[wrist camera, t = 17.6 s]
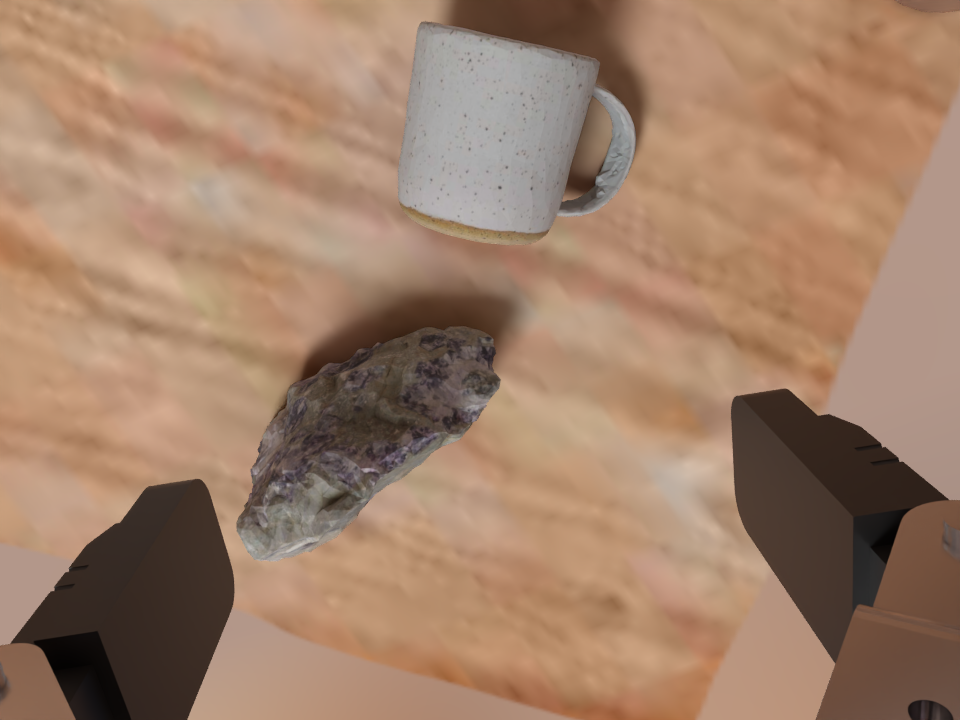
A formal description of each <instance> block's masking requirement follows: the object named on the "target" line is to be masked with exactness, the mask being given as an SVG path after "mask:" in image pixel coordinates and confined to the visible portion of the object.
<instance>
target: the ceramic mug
mask: <svg viewBox="0 0 960 720" xmlns="http://www.w3.org/2000/svg"><path fill="white" fill-rule="evenodd" d="M599 66H600V62H599V61H598V60H597V59H596V58H592V57H589V56H585V55H580V54H576V53H573V52H567V51H563V50H560V49H555V48H550V47H547V46H543V45H537V44H533V43H528V42H523V41H520V40H513V39H510V38H505V37H500V36H495V35H490V34H486V33H482V32H478V31H474V30H470V29H466V28H461V27H457V26H449V25H442V24H439V23H433V22H426V21H425V22H421V23H420V25H419V27H418V31H417V38H416V46H415V54H414V62H413V70H412V77H411V83H410V90H409V97H408V104H407V114H406V122H405V129H404V136H403V142H402V148H401V155H400V161H399V168H398V198H399V203H400V205H401V207H402V210H403V211H404V212H405V213H406V214H407V216H408V217H409V218H410V219H411V220H413V221H415V222H416V223H418V224H419V225H422V226H424V227H426V228H429V229H432V230H434V231H437V232H440V233H443V234H447V235H450V236H454V237H458V238H463V239H467V240H471V241H476V242H483V243H491V244H501V245H527V244H531V243H534V242H536V241H538V240H540V239H541V238H542V237H544V236H545V235H546V234H547V233H548V231H549V229H550V228H551V226H552V224H553V222H554V220H555V217H556V215H557V216H564V217H572V216H582V215H585V214H588V213H592V212H594V211H596V210H598V209H600V208H601V207H602V206H604V205H605V204H606V203H608V202H609V201H610V200H611V199H612V198H613V197H614V196H615V195H616V194H617V192H618V191H619V189H620V188H621V186H622V184H623V182H624V180H625V179H626V177H627V175H628V173H629V170H630V167H631V164H632V161H633V157H634V153H635V147H636V132H635V127H634V124H633V121H632V119H631V116H630V114H629V112H628V110H627V109H626V108H625V106H624V104H623V103H622V102H621V101H620V100H619V99H618V98H617V97H616V96H615V95H613V94H612V93H611V92H610V91H609V90H607V89H605V88H603V87H602V86H600V85H598V84H596V80H597V76H598V71H599ZM592 96H593V97H595V98H596V99H597V100H598V101H599V102H600V103H601V104H602V105H603V106H604V107H605V108H606V110H607V111H608V113H609V114H610V118H611V120H612V125H613V129H612V134H613V137H612V141H611V144H610V147H609V150H608V153H607V156H606V159H605V161H604V164H603V167H602V169H601V172H600V173H599V174H598V175H597V176H596V182H595V186H594V187H593V188H592V189H591V190H590V191H589V192H587V193H586V194H584V195H582V196H581V197H579V198H577V199H574V200H567V201H565V202H562V199H563V195H564V192H565V188H566V184H567V180H568V176H569V171H570V167H571V164H572V160H573V157H574V153H575V150H576V147H577V144H578V140H579V137H580V134H581V130H582V127H583V124H584V120H585V117H586V113H587V110H588V107H589V103H590V100H591V97H592Z"/></svg>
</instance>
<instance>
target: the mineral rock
mask: <svg viewBox="0 0 960 720" xmlns="http://www.w3.org/2000/svg"><path fill="white" fill-rule="evenodd" d="M495 354H496V350H495V347H494V345H493V338H492V337H491V336H490V335H488V334H487V333H485V332H483V331H481V330H478V329H473V328H469V327H466V326H460V327H452V326H449V327H447V328H446V329H445V330H441V329H438V328H434V327H425V328H422V329H420V330H418V331H415V332H413V333H410V334H408V335H405V336H403V337H399V338H395V339H392V340H390V341H387V342H386V343H384V344H382V343H376V344H375V345H374V346H373V347H372V348H362V349H358V350H357V352H356V353H355V354H354V355H353V356H352V357H351V358H350V359H349V360H348V361H346V362H344V363H328V364H326V365H325V366H323V367H322V368H321V370H320V371H319V372H318V373H317V374H316V375H315V376H313V377H310V378H308V379H305V380H302V381H299V382H296V383H294V384H292V385H291V386H290V388H289V390H288V395H287V406H286V407H285V409H283V410H282V411H280V412H279V413H278V416H277V417H275V418H274V419H273V420H272V421H271V423H270V425H269V426H268V427H267V429H266V432H265V433H264V435H263V439H262V441H261V442H260V447H259V448H258V452H259V456H258V458H257V460H256V463H255V464H254V465H253V466H252V469H251V476H252V483H253V488H252V493H250V495H249V500H248V502H247V503H246V504H245V505H244V507H245V510H244V511H243V512H242V514H241V515H240V516H239V518H238V520H237V532H238V534H239V536H240V538H241V540H242V541H243V543H244V545H245V547H246V549H247V551H248V552H249V554H250V555H251V556H252V557H253V558H254V560H259V561H263V560H267V561H279V560H280V559H282V558H289V557H294V556H296V555H299V554H301V553H303V552H310V551H312V550H314V549H315V548H317V547H319V546H320V545H322V544H324V543H326V542H328V541H330V540H332V539H334V538H336V537H337V536H338V535H339V534H340V533H341V532H342V531H343V530H344V529H345V528H346V527H347V526H348V525H349V524H350V523H351V522H352V521H354V520H355V519H356V518H357V516H358V514H359V511H360V510H361V509H362V508H363V507H364V506H365V505H366V504H367V503H368V502H369V500H370V499H371V498H372V497H373V496H374V495H375V494H376V493H378V492H379V491H381V490H382V489H383V488H385V487H386V486H387V485H389V484H391V483H393V482H396V481H398V480H401V479H402V478H403V477H404V476H405V475H407V474H408V473H409V472H410V471H411V470H412V469H413V468H415V467H417V466H419V465H421V464H422V463H423V461H424V460H425V459H426V458H427V457H428V456H429V455H430V454H431V453H432V452H434V451H435V450H437V449H438V448H440V447H442V446H444V445H447V444H450V443H452V442H455V441H457V440H460V439H461V437H462V436H463V435H464V434H465V432H466V431H467V430H468V429H469V428H470V426H471V425H472V423H473V422H474V421H477V419H478V418H479V416H480V413H481V412H482V410H483V409H484V408H485V407H486V404H487V402H488V401H489V400H490V398H491V397H492V396H493V395H494V394H495V392H496V391H497V390H498V389H499V386H500V380H501V379H500V378H499V377H498V376H497V374H495V373H494V372H493V371H494V370H493V368H492V362H493V357H494V355H495Z"/></svg>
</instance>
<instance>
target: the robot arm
mask: <svg viewBox="0 0 960 720" xmlns="http://www.w3.org/2000/svg"><path fill="white" fill-rule="evenodd" d="M895 1H897V2H899V3H900V4H902V5H903V6H907V7H910V8H913V9H916V10H919V11H923V12H939V13H944V12H951V11H958V10H960V0H895ZM731 421H732V442H733V463H734V484H735V496H736V502H737V507H738V511H739V514H740V517H741V520H742V523H743V525H744V527H745V530H746V531H747V533H748V534H749V536H750V537H751V539H752V540H753V542H754V543H755V545H756V546H757V548H758V549H759V551H760V552H761V554H762V555H763V557H764V558H765V560H766V561H767V563H768V564H769V566H770V567H771V569H772V570H773V572H774V573H775V575H776V576H777V577H778V579H779V581H780V582H781V584H782V585H783V586H784V588H785V589H786V591H787V592H788V594H789V595H790V597H791V598H792V600H793V601H794V603H795V604H796V606H797V607H798V609H799V610H800V612H801V613H802V615H803V616H804V618H805V619H806V621H807V622H808V624H809V625H810V627H811V628H812V630H813V631H814V632H815V634H816V636H817V637H818V639H819V640H820V641H821V643H822V644H823V646H824V647H825V649H826V650H827V652H828V653H829V655H830V656H831V658H832V659H833V661H834V662H835V667H834V670H833V672H832V675H831V678H830V681H829V684H828V686H827V689H826V692H825V695H824V698H823V700H822V703H821V706H820V709H819V712H818V714H817V717H816V720H960V500H949V499H948V498H946V497H945V496H944V495H943V494H941V493H940V492H939V491H938V490H937V489H935V488H934V487H933V486H932V485H931V484H929V483H928V482H927V481H926V480H925V479H923V478H922V477H921V476H919V475H918V474H917V473H916V472H915V471H914V470H912V469H911V468H910V467H909V466H908V465H906V464H905V463H904V462H899V459H898V457H897V456H896V455H894V454H893V453H892V452H891V451H889V450H888V449H887V448H886V447H883V448H882V446H881V443H880V442H878V441H877V440H876V439H875V438H874V437H873V436H871V435H870V434H869V433H867V431H865V430H864V429H863V428H862V427H860V426H858V425H855V424H852V423H850V422H847V421H845V420H842V419H840V418H837V417H835V416H832V415H830V414H827V415H821V416H818V415H816V414H815V413H814V412H813V411H812V410H811V409H810V408H809V407H807V406H806V405H805V404H804V403H803V402H802V401H801V400H800V399H799V398H797V397H796V396H795V395H794V394H793V393H792V392H791V391H789V390H788V389H779V390H772V391H766V392H759V393H753V394H747V395H740V396H736V397H734V399H733V402H732V407H731ZM54 588H55V591H52V592H50V593H49V594H48V596H47V597H46V598H45V600H44V601H43V602H42V603H41V605H40V606H39V607H38V608H37V610H36V611H35V612H34V614H33V615H32V616H31V618H30V619H29V620H28V621H27V623H26V624H25V625H24V627H23V628H22V629H21V631H20V632H19V633H18V634H17V636H16V637H15V638H14V639H13V641H12V642H11V643H10V644H8V645H1V646H0V720H187V718H188V716H189V713H190V711H191V708H192V706H193V704H194V701H195V699H196V696H197V694H198V691H199V689H200V686H201V684H202V681H203V679H204V677H205V674H206V672H207V669H208V666H209V664H210V661H211V659H212V657H213V654H214V652H215V649H216V647H217V644H218V642H219V639H220V637H221V634H222V632H223V629H224V627H225V625H226V622H227V620H228V617H229V615H230V612H231V609H232V606H233V601H234V577H233V571H232V566H231V563H230V559H229V556H228V553H227V549H226V546H225V543H224V539H223V536H222V533H221V529H220V526H219V523H218V520H217V516H216V513H215V510H214V506H213V503H212V500H211V496H210V493H209V491H208V489H207V487H206V485H205V484H204V482H203V481H202V480H200V479H194V480H187V481H181V482H174V483H168V484H161V485H155V486H149V487H147V488H146V489H145V490H144V491H143V493H142V494H141V495H140V497H139V498H138V499H137V501H136V502H135V503H134V505H133V506H132V508H131V509H130V510H129V512H128V513H127V514H126V516H125V517H124V518H123V520H122V521H121V522H120V523H117V524H114V525H113V526H112V527H110V528H109V529H108V530H106V531H105V532H104V533H102V534H101V535H100V536H98V537H97V538H96V539H94V540H93V541H92V542H90V543H89V544H88V545H86V546H85V548H84V549H83V550H82V552H81V553H80V554H79V556H78V557H77V558H76V559H75V561H74V562H73V563H72V565H71V566H70V567H69V572H66V573H65V574H64V575H63V576H62V577H61V579H60V580H59V581H58V583H57V584H56V585H55V587H54Z"/></svg>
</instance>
